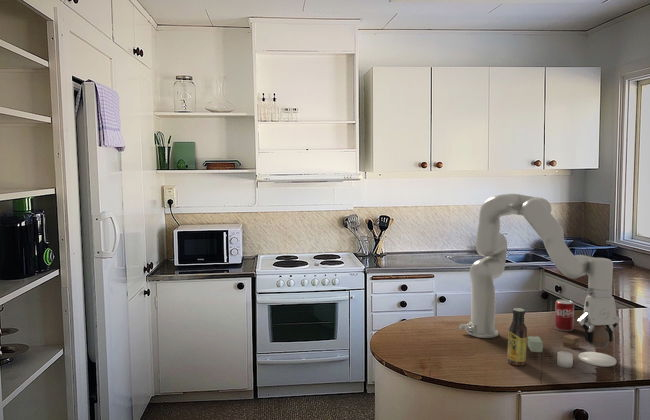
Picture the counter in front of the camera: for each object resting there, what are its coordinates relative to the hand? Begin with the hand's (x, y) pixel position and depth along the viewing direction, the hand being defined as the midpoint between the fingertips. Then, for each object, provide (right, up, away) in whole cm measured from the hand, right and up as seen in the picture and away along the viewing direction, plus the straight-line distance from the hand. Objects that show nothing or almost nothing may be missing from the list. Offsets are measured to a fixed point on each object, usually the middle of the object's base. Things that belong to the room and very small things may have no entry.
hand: (598, 340), depth 183 cm
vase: (0, -2, 0) cm, 2 cm away
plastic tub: (-14, -8, -3) cm, 16 cm away
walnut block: (-3, -6, +14) cm, 16 cm away
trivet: (0, -7, +1) cm, 7 cm away
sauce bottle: (-30, -8, -1) cm, 31 cm away
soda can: (+4, -4, +36) cm, 36 cm away
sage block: (-18, -7, +12) cm, 23 cm away
